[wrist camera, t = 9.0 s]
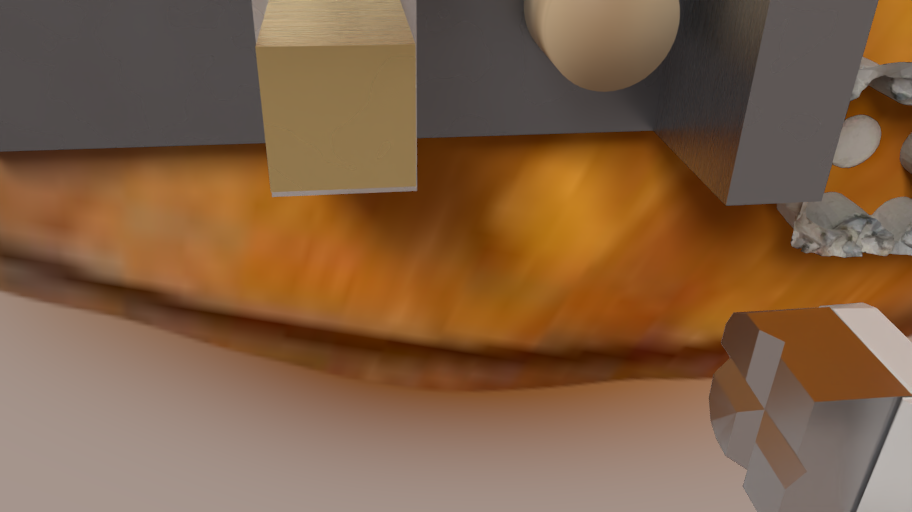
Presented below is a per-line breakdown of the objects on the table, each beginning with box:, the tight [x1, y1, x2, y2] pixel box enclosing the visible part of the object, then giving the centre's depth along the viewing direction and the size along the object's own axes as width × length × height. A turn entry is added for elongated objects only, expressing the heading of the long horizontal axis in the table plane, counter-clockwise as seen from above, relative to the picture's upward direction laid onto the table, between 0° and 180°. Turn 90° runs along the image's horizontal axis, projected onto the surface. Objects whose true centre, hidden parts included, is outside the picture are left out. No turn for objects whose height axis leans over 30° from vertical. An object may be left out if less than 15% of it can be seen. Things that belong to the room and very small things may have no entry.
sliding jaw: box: [251, 0, 417, 197], centre depth 20 cm, size 4×8×10 cm, turn 179°
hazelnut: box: [524, 0, 680, 92], centre depth 24 cm, size 4×4×3 cm
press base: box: [0, 0, 878, 206], centre depth 23 cm, size 26×9×8 cm, turn 89°
